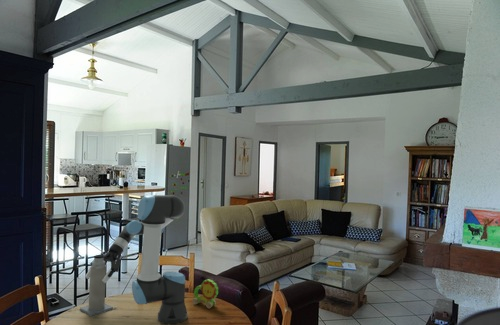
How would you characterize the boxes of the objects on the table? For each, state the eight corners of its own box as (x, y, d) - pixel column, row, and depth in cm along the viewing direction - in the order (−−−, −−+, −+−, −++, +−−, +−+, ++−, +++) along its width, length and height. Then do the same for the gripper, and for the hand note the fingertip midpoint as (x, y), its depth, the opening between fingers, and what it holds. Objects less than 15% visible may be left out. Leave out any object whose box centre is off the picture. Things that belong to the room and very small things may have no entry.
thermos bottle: (93, 304, 189) (96, 253, 190) (107, 305, 188) (109, 254, 189) (85, 309, 181) (87, 256, 182) (99, 310, 180) (102, 257, 181)
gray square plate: (112, 309, 186) (112, 307, 186) (91, 316, 176) (91, 313, 176) (100, 303, 193) (101, 301, 193) (79, 310, 183) (80, 307, 183)
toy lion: (191, 304, 197) (192, 277, 197) (197, 301, 202) (198, 275, 202) (214, 310, 189) (215, 282, 190) (219, 307, 194) (220, 280, 194)
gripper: (137, 253, 194) (115, 287, 180) (106, 248, 205) (83, 279, 192) (130, 245, 190) (107, 280, 176) (99, 240, 201) (75, 272, 187)
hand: (95, 279), depth 184 cm, fingers open, 13 cm apart
